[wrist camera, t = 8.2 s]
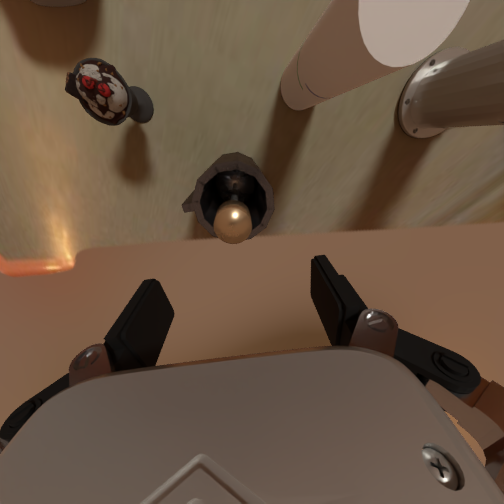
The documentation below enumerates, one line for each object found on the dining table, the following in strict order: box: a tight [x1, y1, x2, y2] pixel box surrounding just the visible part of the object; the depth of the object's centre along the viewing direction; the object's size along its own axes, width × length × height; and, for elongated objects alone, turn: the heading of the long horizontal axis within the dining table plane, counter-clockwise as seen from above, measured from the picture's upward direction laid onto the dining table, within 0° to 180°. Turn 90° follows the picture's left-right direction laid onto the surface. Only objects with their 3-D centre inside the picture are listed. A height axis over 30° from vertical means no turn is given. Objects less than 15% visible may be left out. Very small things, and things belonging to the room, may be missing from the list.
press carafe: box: [182, 152, 274, 240], centre depth 34 cm, size 13×11×16 cm
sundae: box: [65, 58, 153, 126], centre depth 27 cm, size 7×7×15 cm
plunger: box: [214, 169, 255, 244], centre depth 29 cm, size 8×8×21 cm
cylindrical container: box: [281, 0, 470, 110], centre depth 22 cm, size 7×7×25 cm
